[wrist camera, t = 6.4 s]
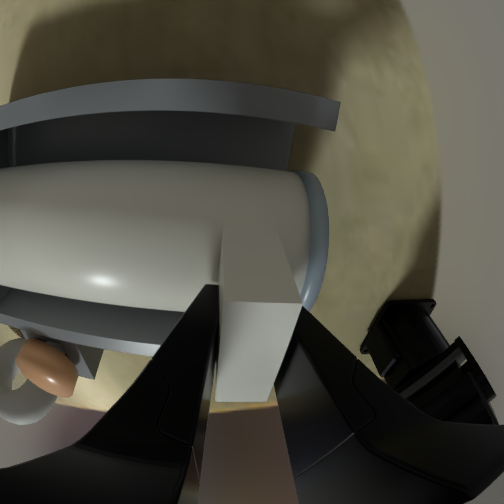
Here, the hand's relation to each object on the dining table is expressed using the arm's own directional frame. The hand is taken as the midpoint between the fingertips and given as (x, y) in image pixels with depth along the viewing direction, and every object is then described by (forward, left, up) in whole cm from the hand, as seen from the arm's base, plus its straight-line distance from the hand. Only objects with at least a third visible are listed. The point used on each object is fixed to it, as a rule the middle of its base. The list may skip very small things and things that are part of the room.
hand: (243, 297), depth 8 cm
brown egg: (+12, +9, -6) cm, 16 cm away
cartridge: (+6, 0, -7) cm, 9 cm away
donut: (+20, +16, -8) cm, 27 cm away
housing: (+7, +3, -8) cm, 11 cm away
